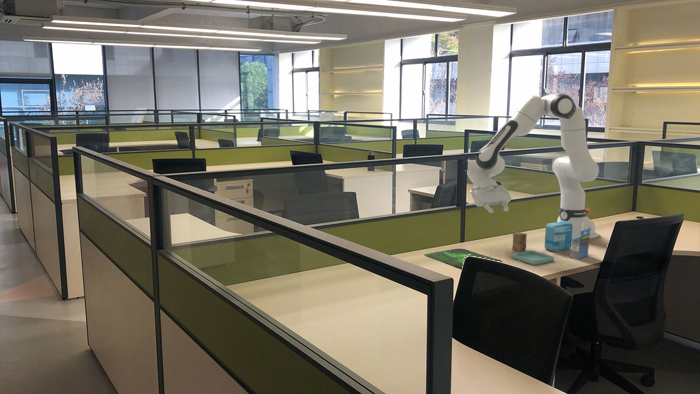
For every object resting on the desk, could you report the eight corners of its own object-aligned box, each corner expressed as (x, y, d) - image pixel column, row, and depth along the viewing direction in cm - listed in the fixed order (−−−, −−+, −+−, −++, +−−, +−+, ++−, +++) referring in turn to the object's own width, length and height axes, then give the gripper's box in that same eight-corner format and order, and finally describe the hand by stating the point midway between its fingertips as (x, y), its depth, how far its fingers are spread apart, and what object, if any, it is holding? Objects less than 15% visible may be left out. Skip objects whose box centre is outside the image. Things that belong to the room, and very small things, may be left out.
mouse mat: (421, 255, 248) (421, 253, 248) (459, 248, 259) (459, 246, 259) (464, 271, 225) (464, 268, 225) (504, 263, 236) (504, 260, 236)
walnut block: (518, 249, 256) (519, 231, 255) (525, 251, 253) (526, 233, 251) (512, 250, 254) (513, 232, 253) (519, 252, 251) (520, 234, 249)
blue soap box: (551, 252, 252) (553, 225, 249) (544, 249, 256) (545, 223, 253) (571, 249, 257) (573, 223, 255) (563, 246, 261) (565, 221, 259)
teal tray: (531, 254, 248) (531, 250, 247) (553, 261, 237) (553, 256, 237) (511, 258, 242) (511, 253, 241) (533, 265, 231) (533, 260, 231)
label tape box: (579, 253, 249) (581, 226, 246) (588, 255, 246) (590, 228, 243) (569, 257, 243) (571, 229, 240) (579, 259, 240) (581, 231, 238)
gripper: (472, 184, 260) (486, 209, 254) (504, 182, 271) (519, 205, 264) (465, 193, 265) (479, 217, 258) (497, 190, 275) (511, 213, 269)
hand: (499, 211), depth 261 cm, fingers open, 8 cm apart
